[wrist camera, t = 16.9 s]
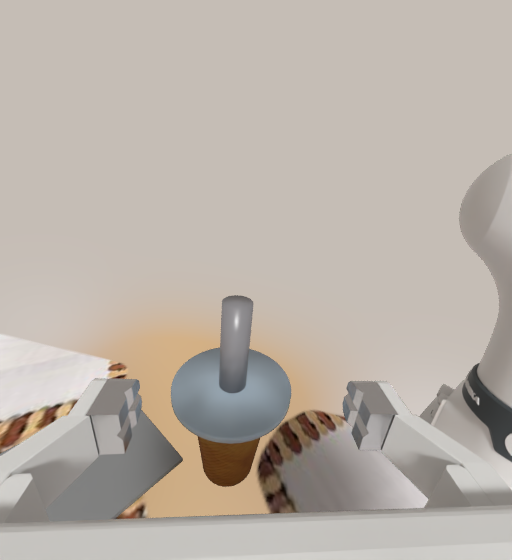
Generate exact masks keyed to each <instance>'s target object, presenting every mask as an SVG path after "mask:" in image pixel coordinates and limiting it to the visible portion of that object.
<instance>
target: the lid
mask: <svg viewBox="0 0 512 560" xmlns="http://www.w3.org/2000/svg"><path fill="white" fill-rule="evenodd" d="M252 312H253V301H252V300H251V299H249V298H247V297H244V296H229V297H226V298H224V299H223V301H222V318H221V343H220V348H215V349H211V350H208V351H205V352H202V353H200V354H198V355H196V356H194V357H192V358H191V359H189V360H188V361H187V362H186V363H185V364H183V365H182V367H181V368H180V369H179V370H178V372H177V373H176V375H175V377H174V379H173V382H172V386H171V402H172V407H173V410H174V413H175V415H176V416H177V418H178V420H179V421H180V422H181V423H182V425H183V426H185V427H186V428H187V429H188V430H189V431H191V432H192V433H194V434H195V435H197V436H199V437H201V438H203V439H206V440H209V441H213V442H218V443H229V444H233V443H243V442H248V441H252V440H255V439H258V438H260V437H262V436H264V435H266V434H268V433H269V432H271V431H272V430H274V429H275V428H276V427H277V426H278V425H279V424H280V423H281V421H282V420H283V419H284V417H285V415H286V413H287V411H288V408H289V404H290V398H291V386H290V382H289V379H288V377H287V375H286V373H285V372H284V370H283V369H282V368H281V367H280V366H279V365H278V363H276V362H275V361H274V360H273V359H271V358H270V357H268V356H266V355H264V354H262V353H260V352H257V351H254V350H251V349H249V345H250V334H251V323H252Z"/></svg>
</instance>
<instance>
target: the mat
mask: <svg viewBox="0 0 512 560" xmlns="http://www.w3.org/2000/svg"><path fill="white" fill-rule="evenodd" d="M131 429H132V437H131V440H130V442H129V445H128V447H127V450H126V452H125V454H105V455H99V457H98V458H97V459H96V460H95V461H94V462H93V463H92V464H91V465H89V466H88V467H87V468H86V469H85V470H84V471H83V472H82V473H81V474H80V475H79V476H78V477H77V478H76V479H75V480H74V481H73V482H72V483H71V484H70V485H69V486H68V487H67V488H66V489H65V490H64V491H63V492H62V493H61V494H60V495H59V496H58V497H57V498H56V499H55V500H54V501H53V502H52V503H51V504H50V505H49V506H48V507H47V508H46V509H45V510H46V513H47V515H48V518H49V520H50V522H55V521H83V520H111V519H115V518H116V517H117V516H118V515H120V514H121V513H122V512H123V511H124V510H126V509H127V508H128V507H129V506H130V505H131V504H133V503H134V502H135V501H136V500H137V499H138V498H140V497H141V496H142V495H143V494H144V493H145V492H147V491H148V490H149V489H150V488H151V487H153V486H154V485H155V484H156V483H157V482H158V481H160V479H162V478H163V477H164V476H165V475H166V474H168V473H169V472H170V471H171V470H172V469H174V468H175V467H176V466H177V465H178V464H179V463H181V462H182V461H183V459H182V457H181V456H180V455H179V453H178V452H177V451H176V450H175V449H174V448H173V447H172V445H171V444H170V443H169V442H168V440H167V439H166V438H165V437H164V436H163V435H162V433H161V432H160V431H159V430H158V429H157V428H156V426H155V425H154V424H153V423H152V422H151V421H150V419H149V418H148V417H147V416H146V415H145V413H144V412H143V411H142V410H141V412H140V417H139V419H138V422H137V424H136V425H135V426H134V427H133V428H131ZM18 445H19V444H18ZM16 446H17V445H16ZM16 446H14V447H16ZM14 447H12V448H14ZM12 448H10V449H8V450H7V451H5V452H3V453H1V454H0V456H2V455H3V454H5V453H6V452H8V451H9V450H11V449H12Z"/></svg>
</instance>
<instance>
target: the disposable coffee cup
mask: <svg viewBox="0 0 512 560" xmlns="http://www.w3.org/2000/svg"><path fill="white" fill-rule="evenodd" d="M198 440H199V445H200V446H199V447H200V451H201V457H202V463H203V469H204V472H205V474H206V476H207V477H208V478H209V480H210V481H212V482H213V483H215V484H217V485H219V486H234V485H236V484H238V483H240V482H241V481H243V480H244V479H245V478H246V477H247V475H248V474H249V472H250V469H251V466H252V463H253V459H254V456H255V453H256V450H257V447H258V443H259V440H260V438H258V439H255V440H252V441H248V442H243V443H233V444H229V443H218V442H213V441H209V440H206V439H203V438H201V437H199V436H198Z"/></svg>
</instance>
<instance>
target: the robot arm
mask: <svg viewBox="0 0 512 560" xmlns="http://www.w3.org/2000/svg"><path fill="white" fill-rule="evenodd" d="M459 221H460V228H461V232H462V234H463V237H464V239H465V240H466V242H467V243H468V245H469V246H470V247H471V249H472V250H474V251H475V252H476V253H477V254H478V256H479V257H480V258H481V259H482V260H483V261H484V263H485V264H486V266H487V267H488V269H489V270H490V272H491V274H492V276H493V278H494V280H495V283H496V286H497V289H498V295H499V314H498V318H497V322H496V325H495V328H494V331H493V334H492V336H491V339H490V342H489V344H488V346H487V349H486V351H485V353H484V356H483V358H482V360H481V362H480V363H478V364H477V365H475V366H474V367H473V369H472V370H471V371H470V372H469V373H468V375H467V377H466V379H465V380H463V381H462V382H461V383H460V384H459V386H458V387H457V388H456V389H455V390H454V389H452V388H450V387H449V386H447V385H445V384H443V385H442V386H441V388H440V390H439V392H438V394H437V397H436V398H435V399H434V401H433V402H432V403H431V404H430V405H429V406H428V407H427V408H426V410H425V411H424V412H423V413H422V414H421V415H420V416H417V415H412V414H411V412H410V411H409V409H408V408H407V407H406V405H405V404H404V402H403V401H402V400H401V398H400V397H399V395H398V394H397V393H396V391H395V390H394V389H393V387H392V386H391V384H390V383H389V382H387V381H374V382H373V381H350V382H349V383H348V386H347V390H348V395H346V396H345V397H344V401H343V412H344V416H345V419H346V421H347V423H348V424H349V425H350V426H352V427H353V431H352V435H353V437H354V440H355V442H356V444H357V447H358V449H359V450H382V451H381V452H382V453H383V454H384V455H385V456H386V457H387V458H388V459H389V460H390V461H391V462H392V463H393V464H394V465H395V466H396V467H397V468H398V469H399V470H400V471H401V472H402V473H403V474H404V475H405V476H406V477H407V478H408V479H409V480H410V481H411V482H412V483H413V484H414V485H415V486H416V487H417V488H418V489H419V490H420V491H421V492H422V493H423V494H424V495H425V496H426V497H427V498H428V501H427V503H426V505H425V507H424V508H413V509H385V510H358V511H330V512H303V513H276V514H250V515H223V516H198V517H197V516H196V517H166V518H138V519H111V520H83V521H55V522H50V520H49V518H48V515H47V513H46V510H45V509H46V508H47V507H48V506H49V505H50V504H51V503H52V502H53V501H54V500H55V499H56V498H57V497H58V496H59V495H60V494H61V493H62V492H63V491H64V490H65V489H66V488H67V487H68V486H69V485H70V484H71V483H72V482H73V481H74V480H75V479H76V478H77V477H78V476H79V475H80V474H81V473H82V472H83V471H84V470H85V469H86V468H87V467H88V466H89V465H91V464H92V463H93V462H94V461H95V460H96V459H97V458H98V457H99V455H105V454H125V452H126V450H127V447H128V445H129V442H130V440H131V437H132V429H131V428H133V427H134V426H135V425H136V424H137V422H138V419H139V417H140V412H141V405H142V400H141V396H140V395H139V394H138V391H139V389H140V384H139V381H138V380H137V379H99V378H95V379H94V380H92V381H91V383H90V384H89V385H88V387H87V388H86V390H85V391H84V393H83V394H82V396H81V397H80V399H79V400H78V401H77V403H76V404H75V406H74V407H73V409H72V410H71V412H70V413H69V414H68V416H62V417H61V418H59V419H57V420H56V421H54V422H53V423H51V424H50V425H48V426H47V427H45V428H43V429H42V430H40V431H39V432H37V433H36V434H34V435H33V436H31V437H30V438H28V439H26V440H25V441H23V442H22V443H20V444H19V445H17V446H16V447H14V448H12V449H11V450H9V451H8V452H6V453H5V454H3V455H2V456H0V560H512V154H510V155H507V156H506V157H504V158H502V159H500V160H499V161H497V162H496V163H494V164H493V165H491V166H490V167H489V168H487V169H486V170H485V171H484V172H483V173H482V174H481V175H480V176H479V177H478V178H477V179H476V180H475V181H474V182H473V184H472V185H471V186H470V188H469V189H468V191H467V193H466V195H465V197H464V199H463V201H462V204H461V208H460V216H459Z"/></svg>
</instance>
